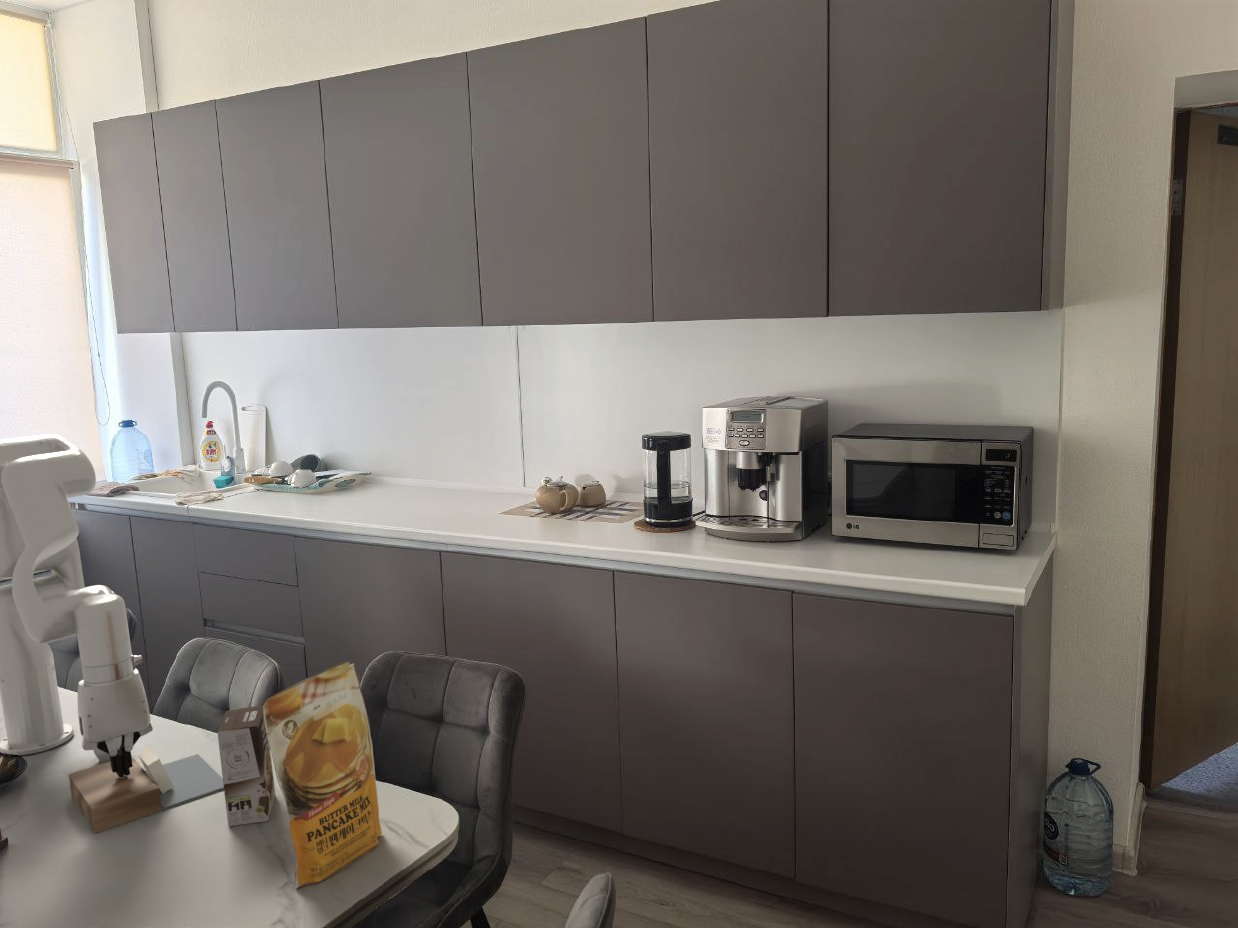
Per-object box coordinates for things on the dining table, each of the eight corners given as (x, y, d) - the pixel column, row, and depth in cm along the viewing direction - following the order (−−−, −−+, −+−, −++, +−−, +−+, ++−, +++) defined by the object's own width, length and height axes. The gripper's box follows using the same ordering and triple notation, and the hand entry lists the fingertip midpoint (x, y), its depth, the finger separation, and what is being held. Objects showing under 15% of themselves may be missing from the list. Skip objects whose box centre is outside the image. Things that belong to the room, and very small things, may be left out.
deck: (71, 795, 171) (68, 773, 171) (134, 775, 177) (131, 754, 177) (95, 832, 158) (92, 809, 158) (162, 810, 164) (159, 787, 164)
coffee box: (269, 821, 159) (258, 725, 157) (227, 827, 158) (215, 731, 155) (276, 794, 168) (266, 703, 165) (236, 800, 167) (225, 708, 164)
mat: (135, 775, 178) (135, 773, 178) (198, 755, 184) (197, 753, 184) (163, 809, 165) (163, 807, 165) (229, 787, 171) (229, 785, 171)
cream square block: (137, 753, 172) (148, 747, 173) (151, 781, 174) (163, 774, 175) (147, 765, 167) (159, 758, 168) (162, 793, 169) (173, 786, 170)
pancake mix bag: (267, 885, 141) (245, 698, 137) (368, 823, 157) (351, 653, 152) (298, 899, 138) (277, 707, 133) (399, 834, 153) (383, 660, 149)
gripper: (150, 652, 173) (163, 752, 176) (53, 676, 163) (68, 781, 166) (162, 663, 167) (175, 766, 170) (62, 688, 158) (78, 796, 161)
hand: (122, 773), depth 168 cm, fingers closed
